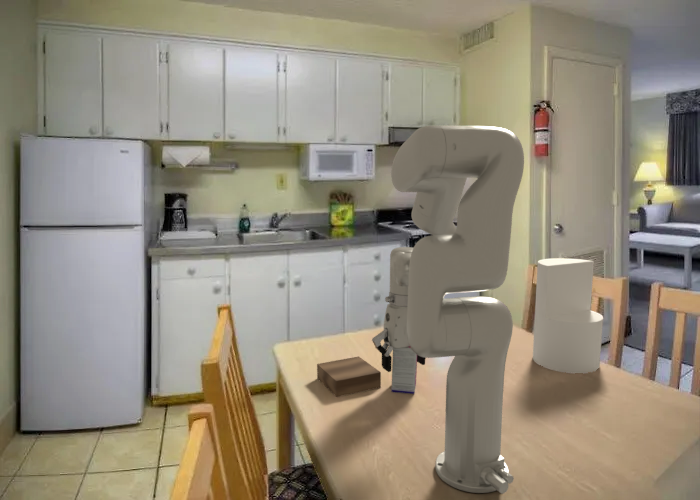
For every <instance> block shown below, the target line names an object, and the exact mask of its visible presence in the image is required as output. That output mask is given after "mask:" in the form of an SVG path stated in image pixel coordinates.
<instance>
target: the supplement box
mask: <svg viewBox="0 0 700 500" xmlns="http://www.w3.org/2000/svg"><path fill="white" fill-rule="evenodd" d="M417 368H418V362H417V354H415V353H414V352H413V350H412V349H411V347H405V348H400V349H393V350H392V361H391V391H390V392H391V393H397V394H408V395H409V394H410V395H414V394H415V393H416V392H415V391H416V386H417V373H418V371H417Z"/></svg>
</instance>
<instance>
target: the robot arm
mask: <svg viewBox="0 0 700 500" xmlns="http://www.w3.org/2000/svg"><path fill="white" fill-rule="evenodd" d="M524 165H525V153H524V148H523V146H522V142H521V141H520V139H519V137H518V136H517V135H516V134H515V133H514V132H512V131H511V130H508V129H507V128H503V127H498V126H488V125H449V124H448V125H444V124H443V125H442V124H441V125H440V124H438V125H437V124H436V125H435V124H434V125H432V124H431V125H425V126H421V127H419V128H417V129H416V130H414V132H412V133H411V135H410V136H409V137H408V138H407V139H406V140H405V141H404V142H403V143H402V145H400V147H399V148H398V150H397V152H396V154H395V156H394V158H393V161H392V164H391V172H390V173H391V174H390V175H391V183H392V185H393V187H394V189H395V190H396V191H398V192H399V193H400V192H401V193H416V194H415V199H414V201H413V206H412V210H411V219H412V222H413V224H414V225H415V226H416V227H417V228H419V229H420V230H421V231H424V232H425V233H427V234H429V235H427V236H424V237H422V238H420V239H419V240H418V241H416V243H415V244H414V246H413V247H410V246H401V247H395V248H393V249H392V250H391V251H390V255H389V292H388V296H385V298H384V300H385V303H388V304H387V306H386V308H385V313H384V315H385V316H384V319H383V320H384V321H383V330H382V331H380V332H379V333H377V334H376V335H375V336H374V337H372V340H371V341H372V343H373V345H374V348H375V349H376V350H377V351H378V352H379V353H380V354H381V367H382V369H383V370H385V371H386V372H387V373H390V372H391V373H392V361H393V356H391V353H393V349H400V348H405V347H411V349H412V350H413V352H414V353H415V354H417V363H419V364H420V365H422V366H425V365H426V359H429V358H430V359H435V358H447V357H448V358H449V357H453V359H452V361H451V362H450V365H449V366H448V371H447V373H446V383H445V421H444V422H445V425H444V451H442V452H440V453H439V454H438V455H437V457H436V459H435V463H434V464H435V472H436V474H437V476H438V477H439V478H440V479H441V480H442V481H443V482H444V483H445V484H447V485H449V486H450V487H453V488H455V489H458V490H460V491H462V492H468V493H473V494H475V493H476V494H487V493H492V492H496V491H498V492H499V493H500V494H502V495H503V494H505V493H507V491H508V490H509V484H512V483H513V481H514V479H515V478H514V476H513V475H512V474H511V473H510V471H509V470H510V469H509V467H508V465H507V463H506V461H505V457H503V456H502V454H501V448H502V427H503V426H502V423H503V401H504V388H505V387H504V386H505V385H504V382H505V381H504V380H505V371H506V370H505V369H506V362H507V356H508V350H509V347H510V343H511V339H512V336H513V328H514V327H513V325H514V323H513V316H512V313H511V311H510V309H509V307H508V306H507V305H506V304H505V303H504V302H503V301H501V300H500V299H498V298H494V297H491V296H486V295H485V296H484V295H483V296H482V295H479V296H474V295H473V296H464V297H463V296H460V297H459V296H458V297H451V298H450V297H448V298H445V296H446V295H448V294H461V293H463V294H464V293H475V292H476V293H477V292H488V291H492V290H495V289H498V288H500V287H501V286H503V284H504V282H505V280H506V278H507V274H508V267H509V258H510V246H511V237H512V236H511V235H512V225H513V211H514V205H515V202H516V199H517V195H518V191H519V188H520V185H521V182H522V180H523V179H522V178H523V174H524V167H525V166H524ZM468 178H469V179H470V178H474V179H475V178H476V180H475V181H473V183H472V184H471V185H470V186H469V188H468V189H467V190H466V191H465V193H464V194H463V191H464V188H465V185H466V183H467V182H466V181H467V179H468ZM462 195H463V196H462ZM461 197H462V198H461ZM456 213H457V221H456V222H457V223H456V224H455V223H454V219H455V215H456ZM382 341H383V342H384V343H383V344H381V342H382Z"/></svg>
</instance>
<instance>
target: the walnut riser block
mask: <svg viewBox="0 0 700 500" xmlns="http://www.w3.org/2000/svg"><path fill="white" fill-rule="evenodd" d="M316 373H317V374H316V376H317V377H316V379H317V380H318V381H319V382H320V383H321V384H322V385H324V387H325V388H327V390H328V391H330V393H332V394H333V396H335V397H336V398H338V397H344V396H348V395H351V394H352V395H353V394H356V393H361V392H366V391H371V390H376V389H381V388H382V387H381V385H382V384H381V383H382V382H381V380H382V378H381V377H382V374H381V370H379V369H377V368H376V367H374V366H373V365H372V364H370V363H369V362H367V361H366V360H365V359H363V358H361V357H360V356H354V357H353V356H352V357H347V358H343V359H337V360H331V361H326V362H320V363H317V364H316Z"/></svg>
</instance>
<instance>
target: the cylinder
mask: <svg viewBox="0 0 700 500" xmlns="http://www.w3.org/2000/svg"><path fill="white" fill-rule="evenodd" d="M594 262H595V260H591V259H590V260H589V259H580V258H568V257H567V258H566V257H565V258H562V257H558V258H557V257H555V258H554V257H553V258H551V257H550V258H543V259H539V260H538V261H537V268H536V269H537V270H536V271H537V272H536V287H535V289H536V290H535V307H534V308H535V309H534V322H533V323H534V325H533V327H534V329H533V345H532V346H533V347H532V359H533V362H534V363H535V364H537V365H539V366H540V365H541V366H540V367H542V366H543V367H542V368H545V369H548V370H551V371H556V372H559V373H565V372H566V374H575V373H583V374H589V373H588V372H591V373H594V372H596V370H597V369H598V368H599V369H600V364H601V353H602V351H601V349H602V338H603V337H602V336H603V324H604V315H602V314H601V313H599V312H597V311H593V310H591V306H592V296H593V295H592V293H593V279H594V265H595V263H594ZM599 369H598V370H599ZM598 370H597V371H598ZM593 371H594V372H593Z"/></svg>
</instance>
